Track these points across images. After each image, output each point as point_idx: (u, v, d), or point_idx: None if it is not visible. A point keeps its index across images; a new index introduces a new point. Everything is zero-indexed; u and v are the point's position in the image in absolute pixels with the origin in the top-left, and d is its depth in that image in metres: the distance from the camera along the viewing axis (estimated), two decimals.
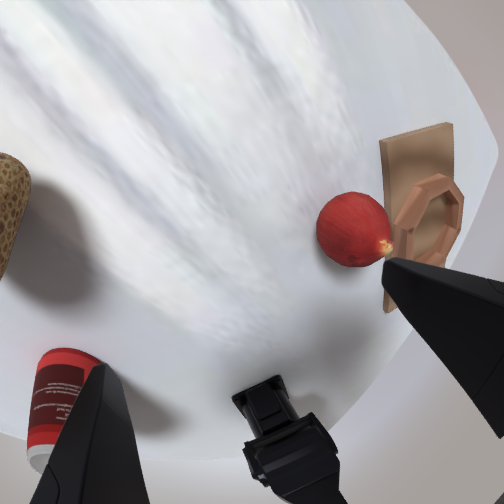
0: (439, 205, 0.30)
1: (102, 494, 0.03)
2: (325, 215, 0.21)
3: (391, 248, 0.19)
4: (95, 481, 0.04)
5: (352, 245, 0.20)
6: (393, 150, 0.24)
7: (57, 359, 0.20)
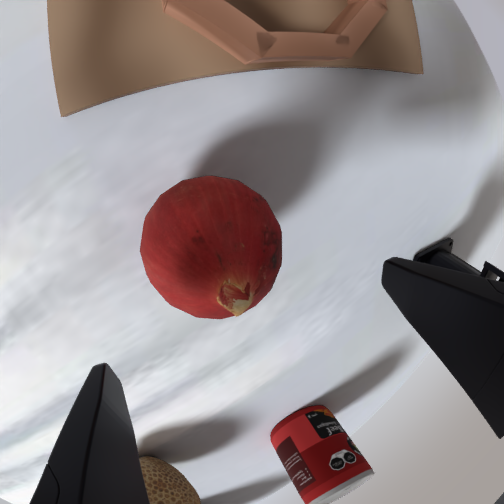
0: None
1: (102, 494, 0.03)
2: None
3: (234, 306, 0.09)
4: (95, 481, 0.04)
5: (222, 318, 0.11)
6: (77, 93, 0.10)
7: (275, 443, 0.28)
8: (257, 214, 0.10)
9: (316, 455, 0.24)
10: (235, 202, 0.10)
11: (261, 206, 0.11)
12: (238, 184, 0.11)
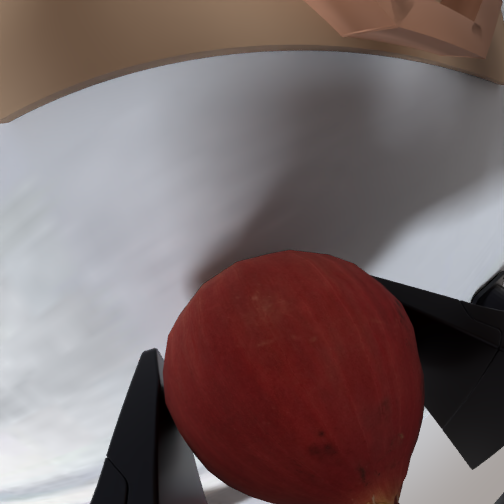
0: None
1: (171, 483, 0.04)
2: None
3: None
4: (165, 470, 0.04)
5: None
6: (20, 74, 0.04)
7: None
8: (412, 353, 0.04)
9: None
10: (387, 344, 0.04)
11: (408, 326, 0.05)
12: (368, 283, 0.05)
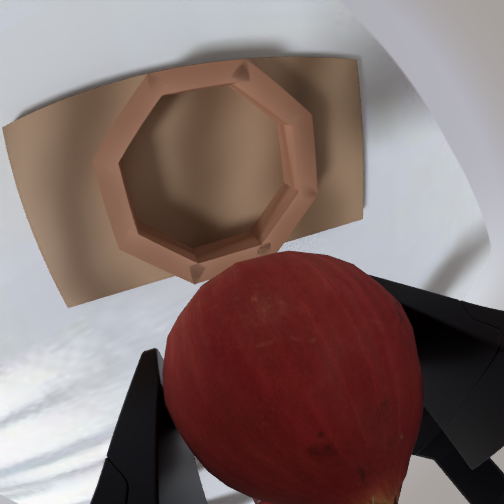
0: (173, 125, 0.14)
1: (172, 483, 0.04)
2: None
3: None
4: (165, 470, 0.04)
5: None
6: (75, 294, 0.16)
7: None
8: (411, 354, 0.04)
9: None
10: (386, 345, 0.04)
11: (407, 327, 0.05)
12: (368, 284, 0.05)
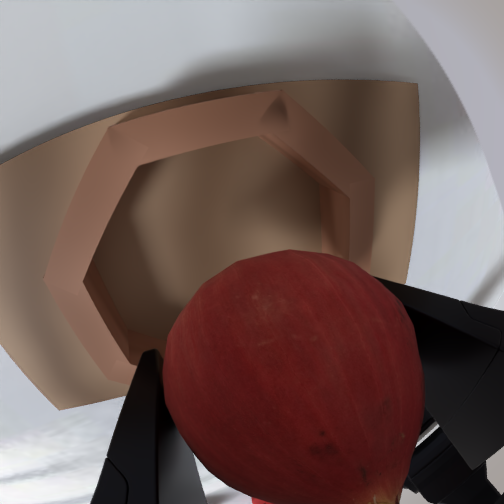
0: (164, 199, 0.09)
1: (172, 483, 0.04)
2: None
3: None
4: (165, 470, 0.04)
5: None
6: (64, 400, 0.11)
7: None
8: (413, 353, 0.04)
9: None
10: (388, 344, 0.04)
11: (408, 326, 0.05)
12: (369, 282, 0.05)
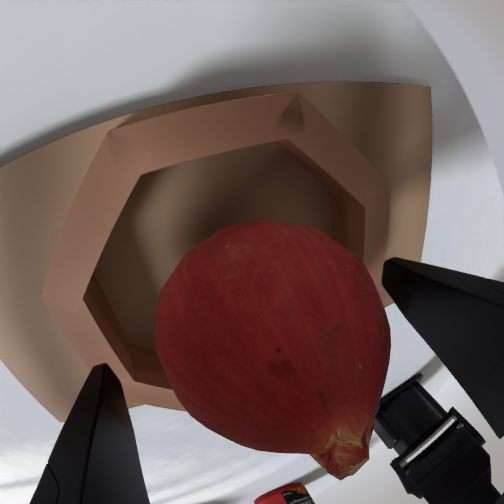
0: (168, 208, 0.09)
1: (102, 494, 0.03)
2: None
3: (348, 473, 0.04)
4: (95, 481, 0.04)
5: None
6: (65, 412, 0.11)
7: None
8: (368, 297, 0.06)
9: None
10: (338, 281, 0.05)
11: (366, 277, 0.06)
12: (326, 239, 0.06)
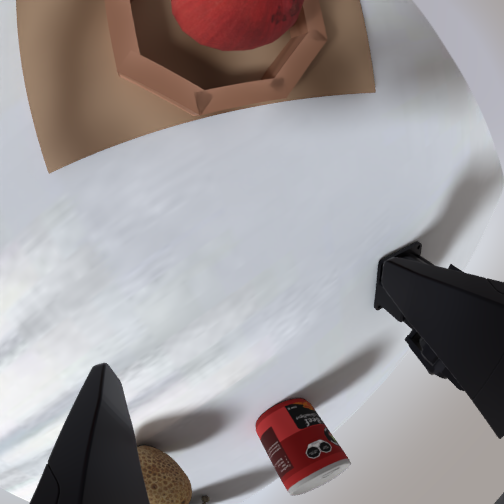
0: None
1: (102, 494, 0.03)
2: (199, 41, 0.10)
3: None
4: (95, 481, 0.04)
5: (251, 16, 0.08)
6: (59, 154, 0.13)
7: (259, 433, 0.31)
8: None
9: (294, 444, 0.27)
10: None
11: None
12: None
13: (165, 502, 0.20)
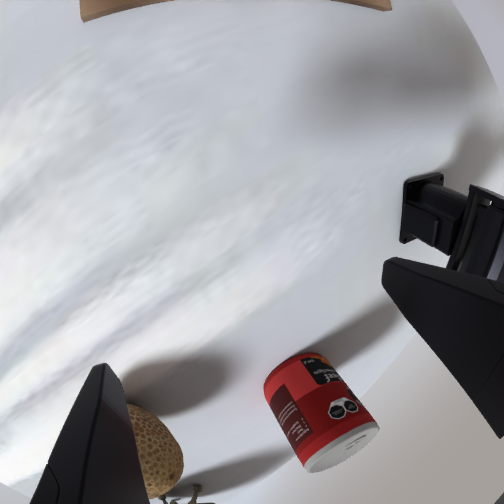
0: None
1: (102, 494, 0.03)
2: None
3: None
4: (95, 481, 0.04)
5: None
6: (96, 1, 0.10)
7: (268, 395, 0.28)
8: None
9: (313, 402, 0.24)
10: None
11: None
12: None
13: (148, 473, 0.16)
